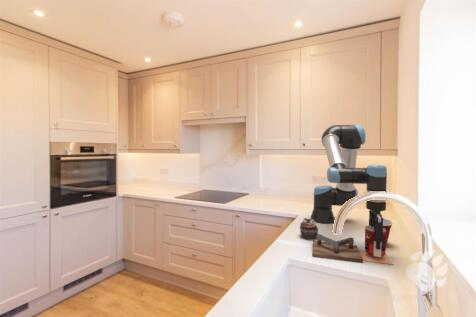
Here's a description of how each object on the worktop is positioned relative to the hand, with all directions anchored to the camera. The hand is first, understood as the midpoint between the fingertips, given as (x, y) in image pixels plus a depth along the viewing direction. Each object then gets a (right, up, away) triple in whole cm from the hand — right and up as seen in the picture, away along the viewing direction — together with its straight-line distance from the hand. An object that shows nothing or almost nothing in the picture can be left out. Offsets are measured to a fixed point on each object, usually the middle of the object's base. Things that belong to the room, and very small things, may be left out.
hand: (374, 252), depth 106 cm
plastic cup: (+11, -2, +15) cm, 19 cm away
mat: (0, -2, 0) cm, 2 cm away
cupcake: (-22, -2, +25) cm, 33 cm away
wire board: (-15, -2, +5) cm, 16 cm away
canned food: (0, 0, 0) cm, 0 cm away
